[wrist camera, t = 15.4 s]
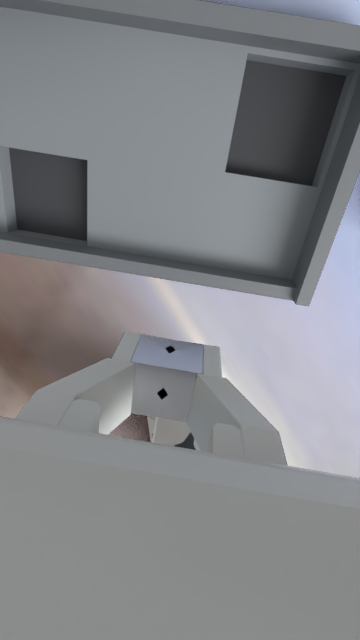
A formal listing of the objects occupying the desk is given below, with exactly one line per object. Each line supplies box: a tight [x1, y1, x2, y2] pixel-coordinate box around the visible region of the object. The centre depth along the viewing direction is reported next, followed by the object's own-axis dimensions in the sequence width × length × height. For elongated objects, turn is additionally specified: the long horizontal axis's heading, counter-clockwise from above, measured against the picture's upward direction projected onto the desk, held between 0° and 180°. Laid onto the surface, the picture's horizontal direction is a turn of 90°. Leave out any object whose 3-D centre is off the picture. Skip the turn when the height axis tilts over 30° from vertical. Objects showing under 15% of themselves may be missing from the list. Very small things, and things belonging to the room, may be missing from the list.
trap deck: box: [0, 0, 360, 306], centre depth 32 cm, size 24×54×6 cm, turn 82°
